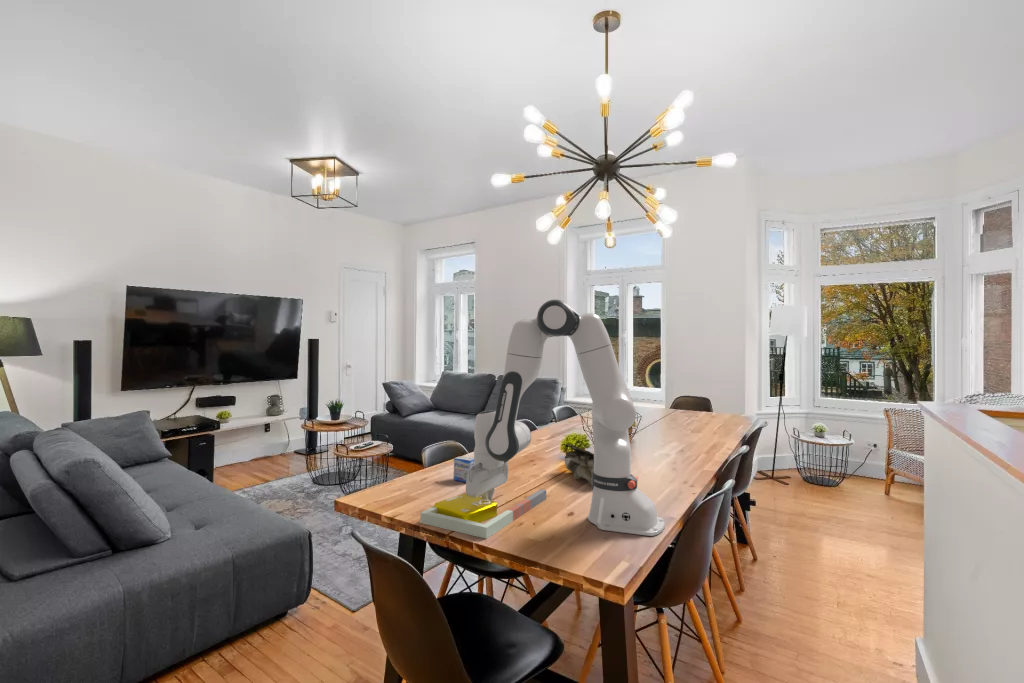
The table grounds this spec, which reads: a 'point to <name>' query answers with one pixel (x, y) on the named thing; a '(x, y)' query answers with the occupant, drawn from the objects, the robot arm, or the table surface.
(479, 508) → the element tile
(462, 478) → the medicine box
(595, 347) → the robot arm
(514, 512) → the trap track
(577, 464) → the hollow geode rock
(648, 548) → the table surface
